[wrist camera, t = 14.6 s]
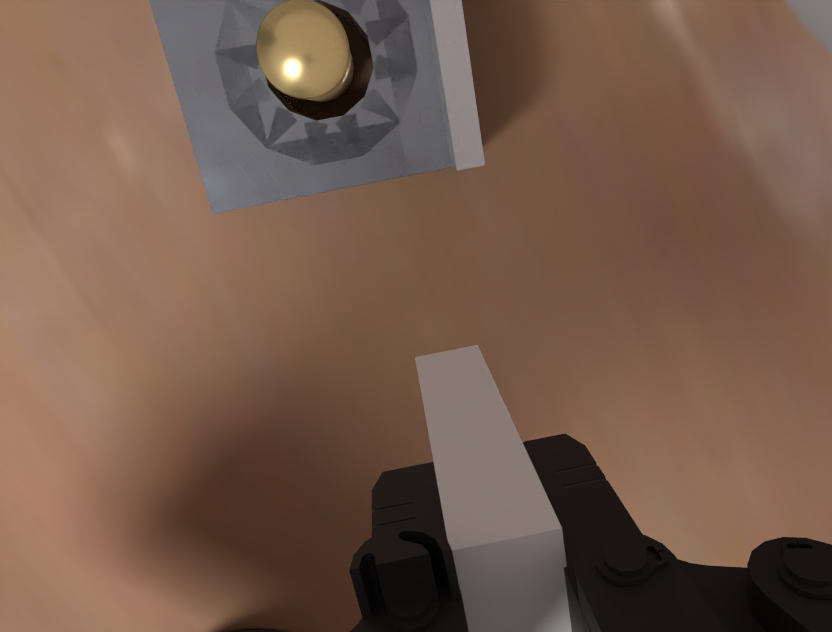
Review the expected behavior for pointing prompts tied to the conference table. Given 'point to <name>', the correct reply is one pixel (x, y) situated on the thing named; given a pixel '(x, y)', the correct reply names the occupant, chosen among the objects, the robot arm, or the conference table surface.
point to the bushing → (305, 51)
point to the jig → (309, 137)
